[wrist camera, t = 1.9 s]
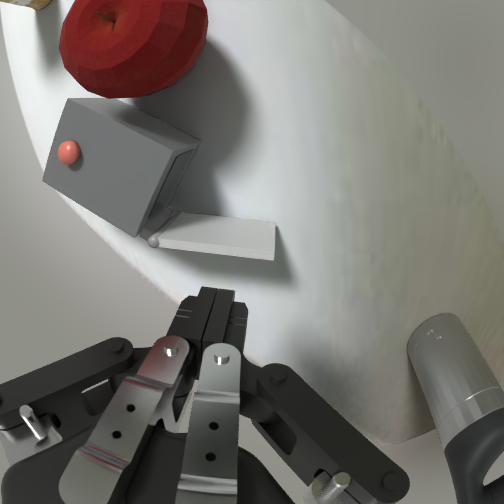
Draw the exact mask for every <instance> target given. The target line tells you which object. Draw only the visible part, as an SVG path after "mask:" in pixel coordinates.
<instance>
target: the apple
mask: <svg viewBox="0 0 504 504" xmlns="http://www.w3.org/2000/svg"><path fill="white" fill-rule="evenodd" d="M207 28H208V15H207V8H206V6H205V4H204V2H203V0H75V1H74V3H73V5H72V7H71V9H70V10H69V12H68V14H67V16H66V18H65V20H64V22H63V25H62V31H61V36H60V43H59V50H60V54H61V57H62V60H63V64H64V67H65V69H66V70H67V71H68V72H69V73H70V74H71V75H72V76H73V77H74V79H75V80H76V81H77V82H78V83H79V84H80V85H81V86H82V87H84V88H85V89H86V90H87V91H89V92H91V93H94V94H97V95H100V96H102V97H105V98H108V99H114V98H133V97H140V96H146V95H151V94H153V93H155V92H158V91H160V90H162V89H165V88H167V87H170V86H172V85H174V84H175V83H176V82H177V81H178V80H179V79H180V78H181V77H183V76H184V75H185V74H186V73H187V72H188V71H189V70H190V69H191V68H193V66H194V64H195V62H196V61H197V59H198V57H199V55H200V53H201V52H202V50H203V48H204V46H205V43H206V35H207Z"/></svg>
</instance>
